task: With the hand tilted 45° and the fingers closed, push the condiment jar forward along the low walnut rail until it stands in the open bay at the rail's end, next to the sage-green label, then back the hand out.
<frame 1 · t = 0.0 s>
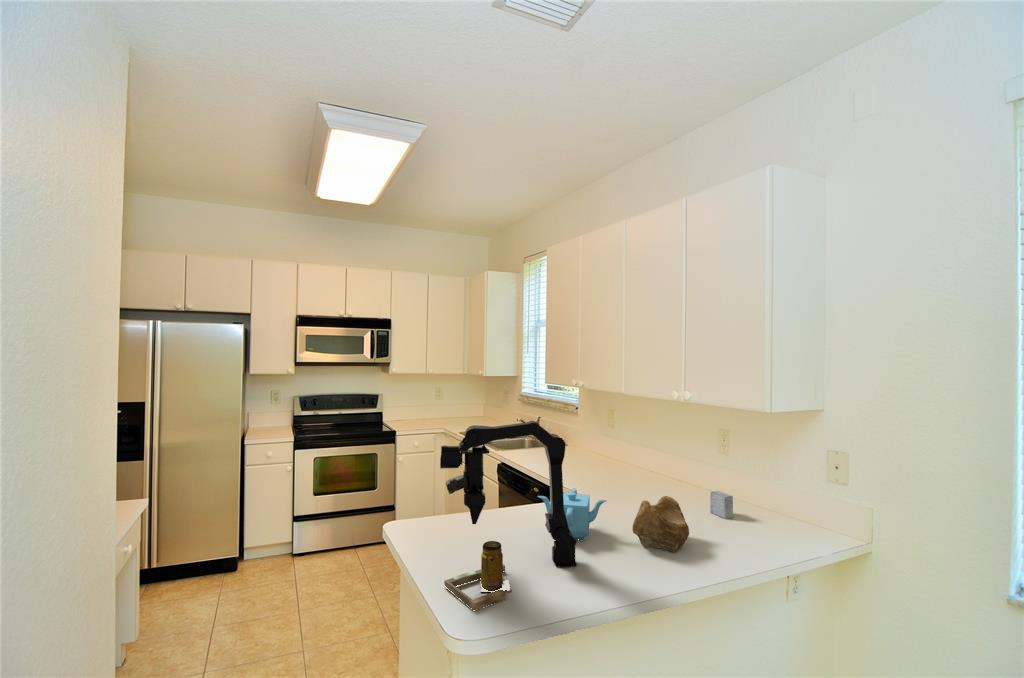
hand: (473, 518, 155), 15 cm above the counter, tool pointing down, fingers open, 9 cm apart
medicine box: (721, 515, 202), on the counter
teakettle: (572, 533, 182), on the counter
rough brown rock: (665, 546, 171), on the counter
rail bay: (475, 593, 138), on the counter
condiment: (495, 587, 142), on the counter
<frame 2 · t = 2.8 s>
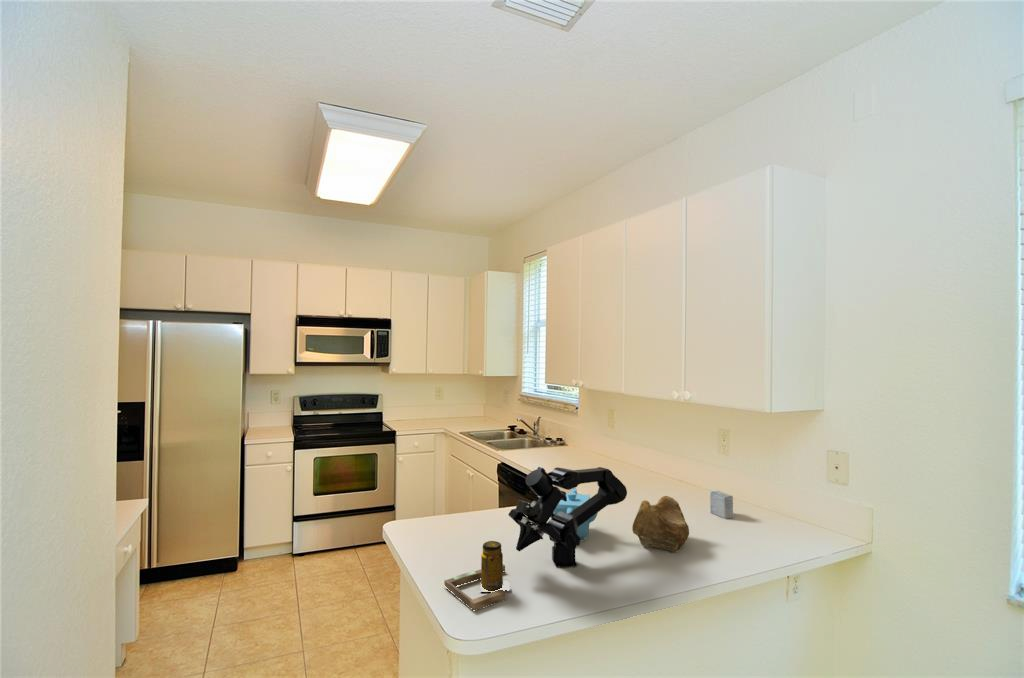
hand: (517, 550, 147), 8 cm above the counter, tool tilted 45°, fingers closed
nothing on the counter moved.
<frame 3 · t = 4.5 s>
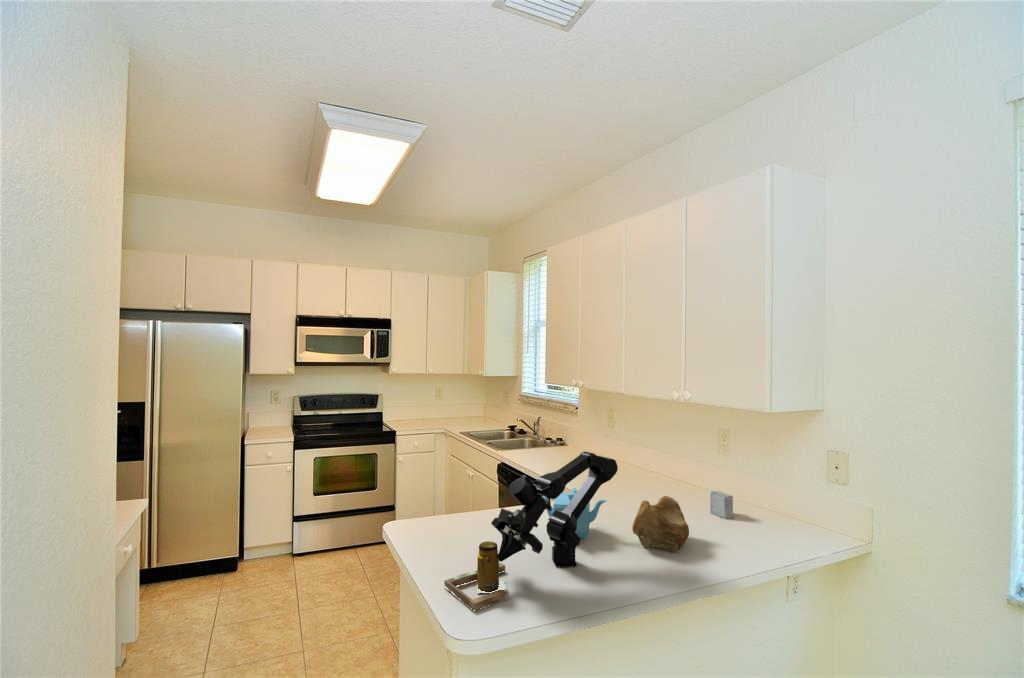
hand: (498, 560, 143), 7 cm above the counter, tool tilted 45°, fingers closed
condiment: (491, 588, 141), on the counter, touching gripper
everything else where it was.
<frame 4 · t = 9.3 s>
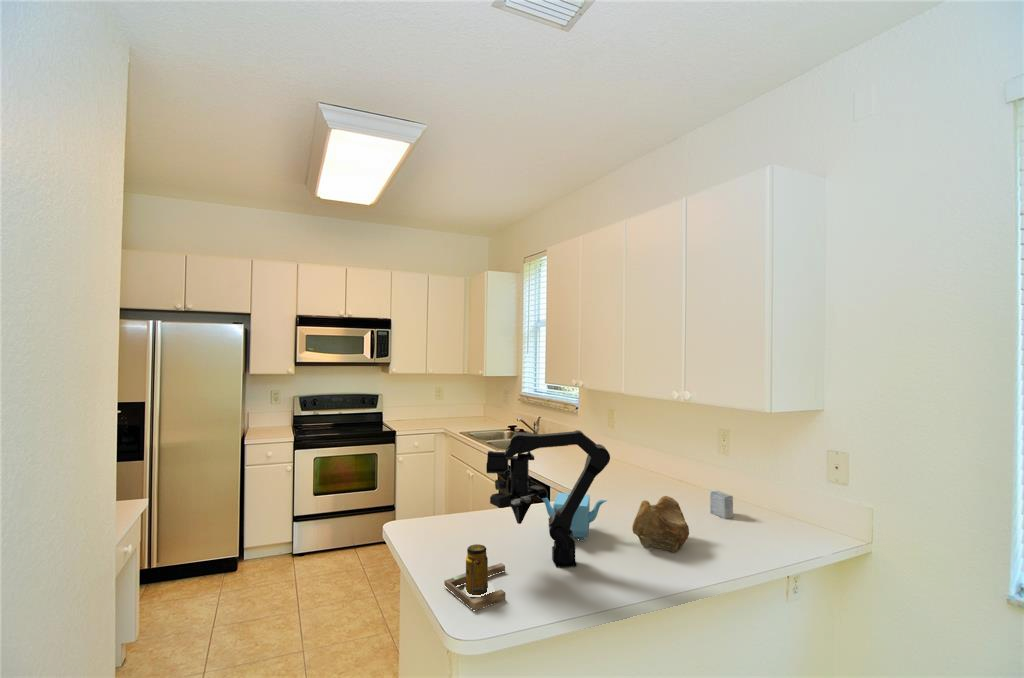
hand: (519, 523, 158), 12 cm above the counter, tool pointing down, fingers closed
condiment: (479, 591, 140), on the counter
everything else where it was.
at the end: condiment 2.1 cm from the target spot, on the counter; condiment tilted 0°; condiment moved 4.8 cm from its start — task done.
